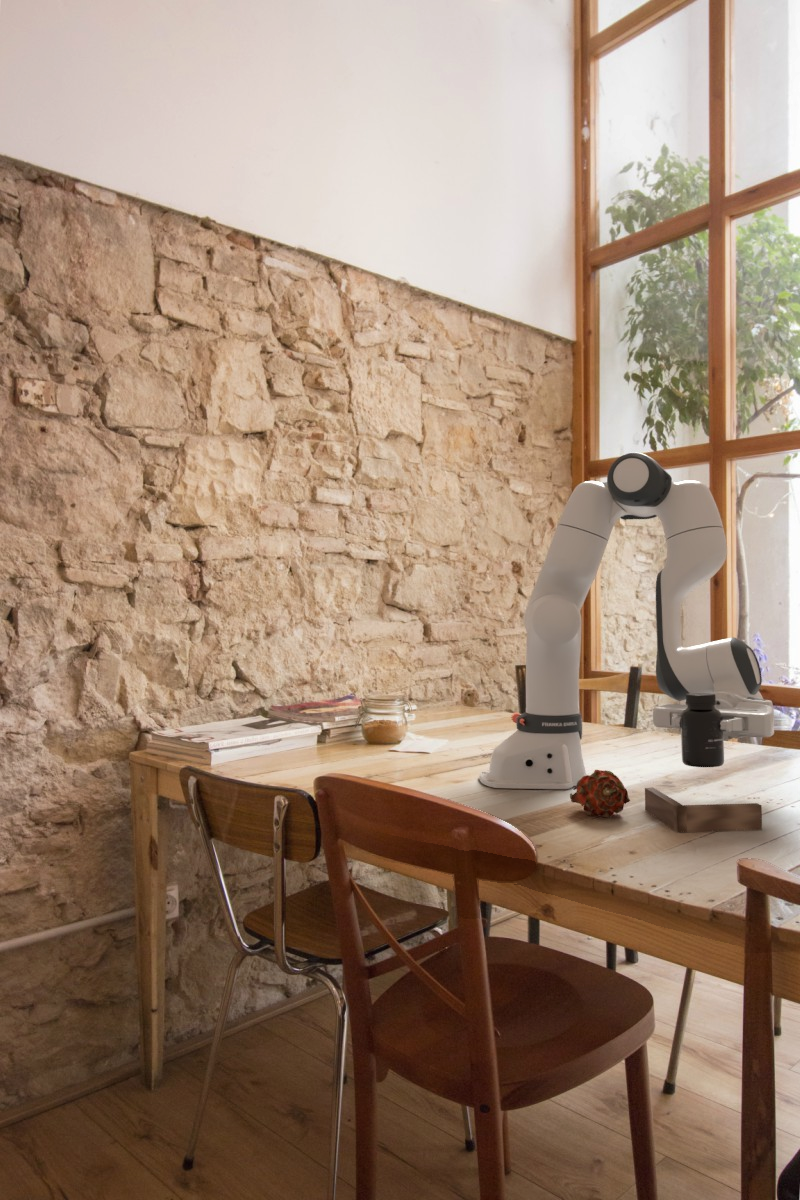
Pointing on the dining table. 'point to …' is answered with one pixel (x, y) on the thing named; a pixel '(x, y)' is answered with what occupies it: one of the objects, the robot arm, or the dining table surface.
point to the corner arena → (703, 814)
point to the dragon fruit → (600, 794)
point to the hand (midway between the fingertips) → (699, 724)
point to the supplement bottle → (701, 732)
